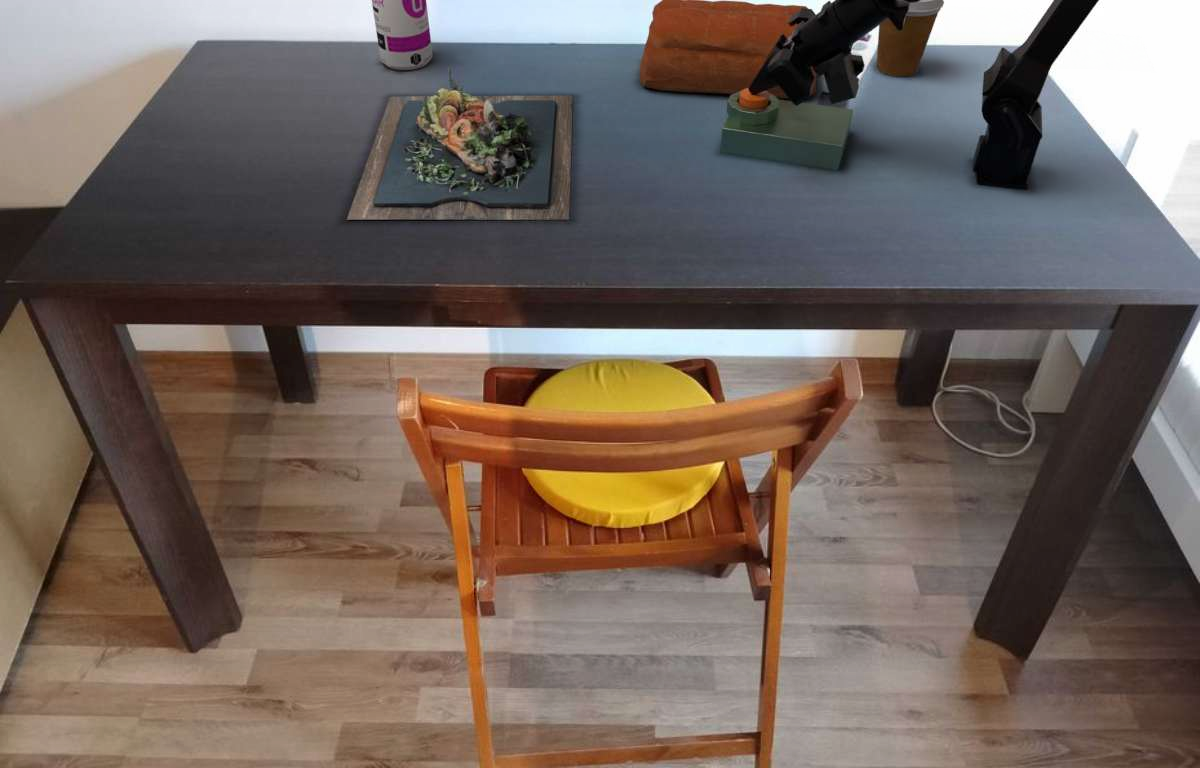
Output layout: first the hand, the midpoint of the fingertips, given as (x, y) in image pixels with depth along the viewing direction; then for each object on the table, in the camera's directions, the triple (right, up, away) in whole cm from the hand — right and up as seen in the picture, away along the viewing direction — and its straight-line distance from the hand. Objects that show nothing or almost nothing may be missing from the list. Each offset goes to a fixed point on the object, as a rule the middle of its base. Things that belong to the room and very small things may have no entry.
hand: (750, 91), depth 132 cm
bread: (-1, +8, +19) cm, 21 cm away
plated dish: (-38, -8, +1) cm, 39 cm away
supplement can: (-51, +12, +24) cm, 58 cm away
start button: (0, -2, +2) cm, 3 cm away
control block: (+5, -6, +3) cm, 9 cm away
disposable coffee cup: (+26, +10, +22) cm, 36 cm away
